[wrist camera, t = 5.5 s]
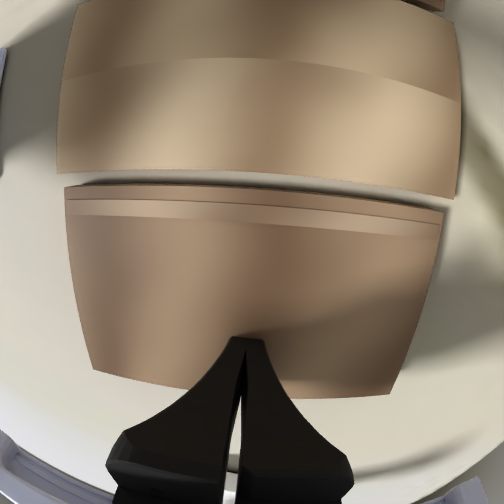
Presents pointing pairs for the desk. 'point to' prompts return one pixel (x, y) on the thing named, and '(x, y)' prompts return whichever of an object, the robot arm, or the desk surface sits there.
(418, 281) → the plank
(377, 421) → the desk surface
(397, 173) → the floor board
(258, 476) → the robot arm
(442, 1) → the plank
